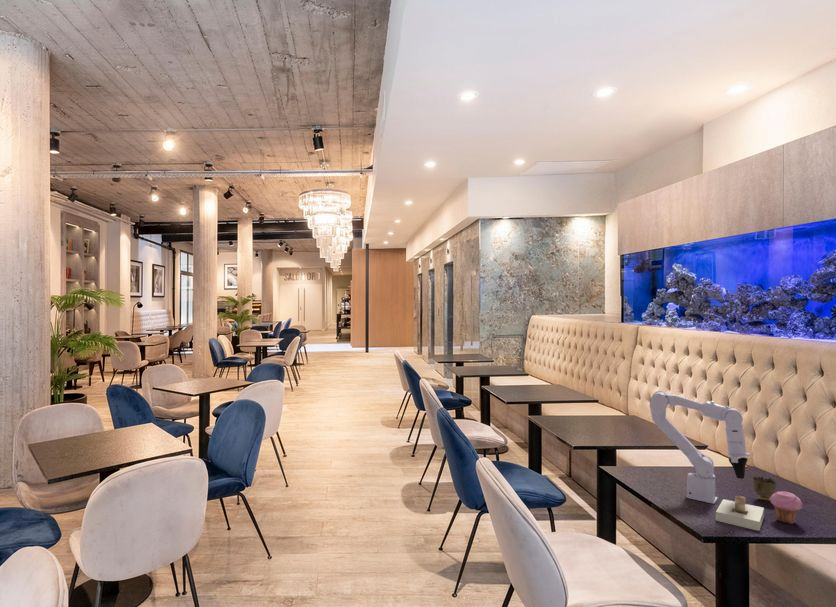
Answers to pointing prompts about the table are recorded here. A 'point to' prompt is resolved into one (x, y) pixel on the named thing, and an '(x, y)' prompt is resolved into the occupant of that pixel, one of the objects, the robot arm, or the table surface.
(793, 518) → the cupcake
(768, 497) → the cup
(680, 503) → the table surface
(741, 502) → the peg
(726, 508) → the board
